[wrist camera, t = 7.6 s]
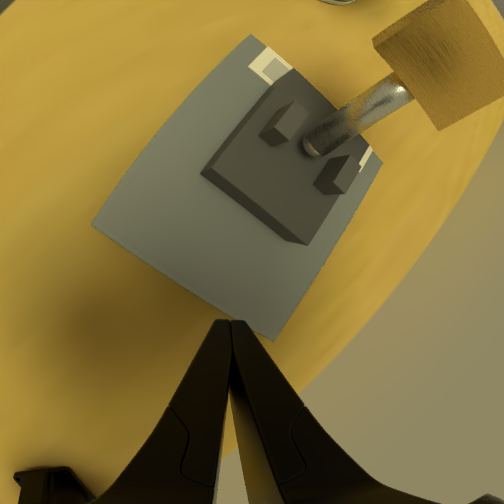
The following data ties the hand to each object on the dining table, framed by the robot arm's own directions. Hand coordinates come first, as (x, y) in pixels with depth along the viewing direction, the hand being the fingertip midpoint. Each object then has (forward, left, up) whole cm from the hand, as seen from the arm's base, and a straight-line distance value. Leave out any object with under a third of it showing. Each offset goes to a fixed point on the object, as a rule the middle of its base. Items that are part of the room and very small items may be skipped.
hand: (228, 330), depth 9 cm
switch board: (+3, -6, -11) cm, 14 cm away
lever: (+5, -8, -7) cm, 12 cm away
